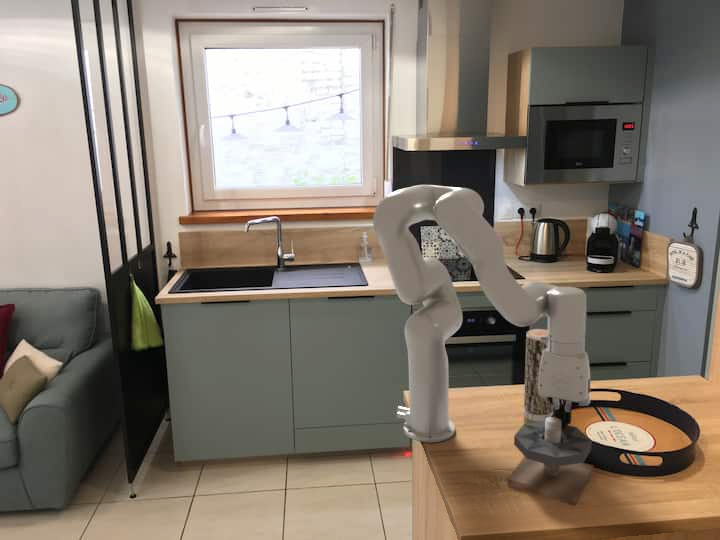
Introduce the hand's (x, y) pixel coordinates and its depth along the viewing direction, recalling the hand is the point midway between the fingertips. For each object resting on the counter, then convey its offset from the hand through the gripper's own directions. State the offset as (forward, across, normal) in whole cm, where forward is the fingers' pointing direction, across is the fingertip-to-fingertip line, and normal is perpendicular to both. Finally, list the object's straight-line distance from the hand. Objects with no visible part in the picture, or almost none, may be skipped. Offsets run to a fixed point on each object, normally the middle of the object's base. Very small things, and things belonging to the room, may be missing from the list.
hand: (563, 425), depth 139 cm
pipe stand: (+10, 0, -6) cm, 12 cm away
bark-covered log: (+10, -9, +12) cm, 18 cm away
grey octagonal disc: (+2, 0, -6) cm, 7 cm away
